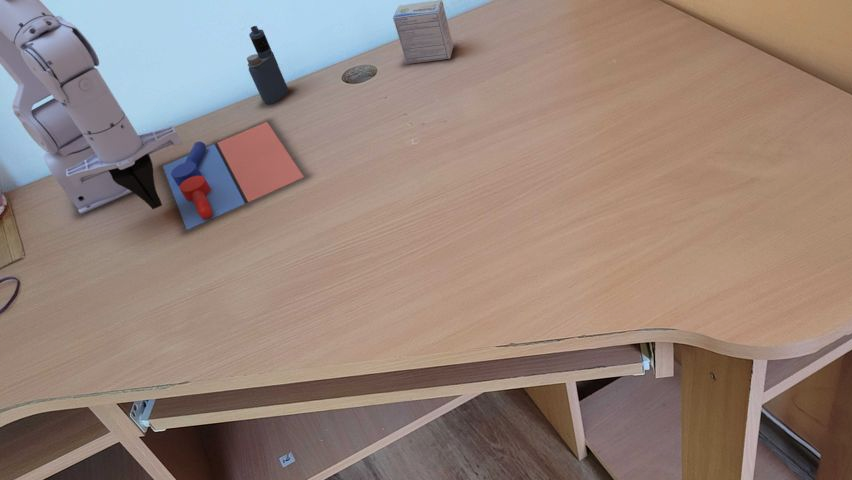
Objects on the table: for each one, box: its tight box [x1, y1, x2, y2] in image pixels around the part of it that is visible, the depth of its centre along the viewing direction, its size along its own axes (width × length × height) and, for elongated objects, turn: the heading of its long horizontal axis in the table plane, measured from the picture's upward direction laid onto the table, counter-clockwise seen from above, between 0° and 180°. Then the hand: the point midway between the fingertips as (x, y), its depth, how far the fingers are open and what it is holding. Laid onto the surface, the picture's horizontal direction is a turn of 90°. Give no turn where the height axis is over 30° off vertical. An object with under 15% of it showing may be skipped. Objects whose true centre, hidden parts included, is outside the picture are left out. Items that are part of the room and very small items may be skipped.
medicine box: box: [392, 0, 454, 65], centre depth 120 cm, size 8×4×9 cm, turn 84°
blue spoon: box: [171, 140, 207, 186], centre depth 109 cm, size 10×4×2 cm, turn 1°
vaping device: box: [246, 25, 290, 105], centre depth 118 cm, size 3×5×12 cm, turn 150°
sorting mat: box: [162, 121, 305, 231], centre depth 107 cm, size 18×20×1 cm
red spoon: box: [180, 176, 212, 219], centre depth 102 cm, size 10×4×2 cm, turn 30°
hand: (156, 204), depth 101 cm, fingers closed
